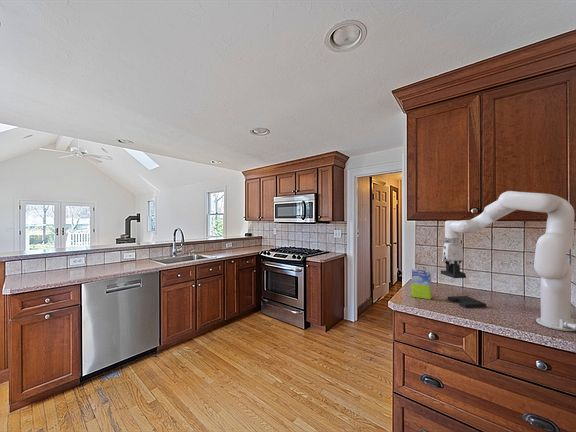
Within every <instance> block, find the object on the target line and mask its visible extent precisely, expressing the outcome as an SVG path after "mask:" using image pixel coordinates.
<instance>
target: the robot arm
mask: <svg viewBox="0 0 576 432" xmlns="http://www.w3.org/2000/svg"><path fill="white" fill-rule="evenodd" d="M497 198H498V199H497V200H495V201H493V202H491V203H490V204H488V205H486V206H485V207H484V208H483V211H482V212H481V213H480V214H479V215H476V216H475V217H473V218H471V219H463V220H452V219H451V220H446V221H445V222H444V239H443V242H444V243H443V246H442V258H441V261H442V262H443V263H444V264H445V266H446V265H447V270H448V272H452V266H451V263H452V262H453V264H457V265H460V266H461V263H463V262H464V261H465V259H464V248H463V244H462V243H461V234H472V233H473V234H475V233H477V232H480V231H481V230H483V229H486V227H489V226H490V225H491V224H493V223H496V222H497V220H500V219H501V218H503V217H505V216H507V215H509V214H511V213H513V212H515V211H527V212H535V213H546V214H547V219H546V224H545V225H546V226H545V232H544V234H542V235H541V236H539V237H538V239H537V241H536V244H535V251H534V252H535V253H534V259H533V260H534V261H533V269H534V272H535V274H537V275H538V276H539V277H540V284H539V285H540V287H539V288H540V289H539V291H540V295H539V296H540V317H537V318H536V319H535V322H536V323H537V324H538V325H539V326H542V327H545V328H549V329H551V330H557V331H563V332H576V323H575V319H573V318H572V297H571V295H572V288H571V287H572V274H573V268H572V265H571V263H570V261H569V260H568V259H567V252H569V251H570V250H571V249H572V247H573V239H574V231H575V218H576V217H575V215H576V214H575V209H574V207H573V206H572V204H571V203H570V202H569V201H568V200H567V199H565V198H563V197H561V196H558V195H555V194H552V193H545V192H544V193H543V192H528V191H515V190H507V191H504V192H502V193H501V194H500V195H499V196H498V197H497Z"/></svg>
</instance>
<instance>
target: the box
mask: <svg viewBox="0 0 576 432" xmlns="http://www.w3.org/2000/svg"><path fill="white" fill-rule="evenodd" d="M411 297H412V298H419V299H425V300H430V301H431V300H432V273H431V271H430V270H423V269H416V268H411Z"/></svg>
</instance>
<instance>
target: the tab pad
mask: <svg viewBox="0 0 576 432" xmlns="http://www.w3.org/2000/svg"><path fill="white" fill-rule="evenodd" d="M451 266H452V272H448V270H447V265H446V264H445V270H440V274H441V275H443V276H447V277H450V278H451V279H452V278H453V279H467V274H466V272H464V271H461V264H460V265H457V264H454V262H453V263H452V262H451Z"/></svg>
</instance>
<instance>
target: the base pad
mask: <svg viewBox="0 0 576 432" xmlns="http://www.w3.org/2000/svg"><path fill="white" fill-rule="evenodd" d="M447 301H449V302H452V303H459V306H460V307H463V308H465V309H475V308H487V303H485V302H483V301H481V300H478V299H475V298H473V297H470V296H468V295H451V296H447Z"/></svg>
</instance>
